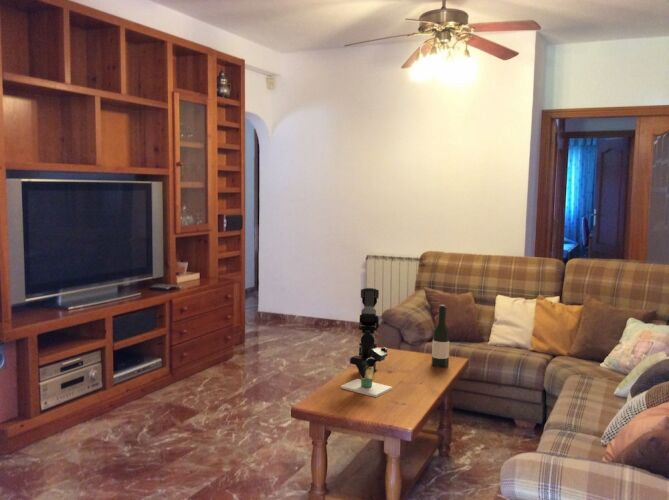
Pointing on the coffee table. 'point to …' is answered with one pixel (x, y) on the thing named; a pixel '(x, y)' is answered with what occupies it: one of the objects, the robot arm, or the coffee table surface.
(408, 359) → the coffee table surface
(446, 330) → the wine bottle
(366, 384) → the neck block
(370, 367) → the cap
